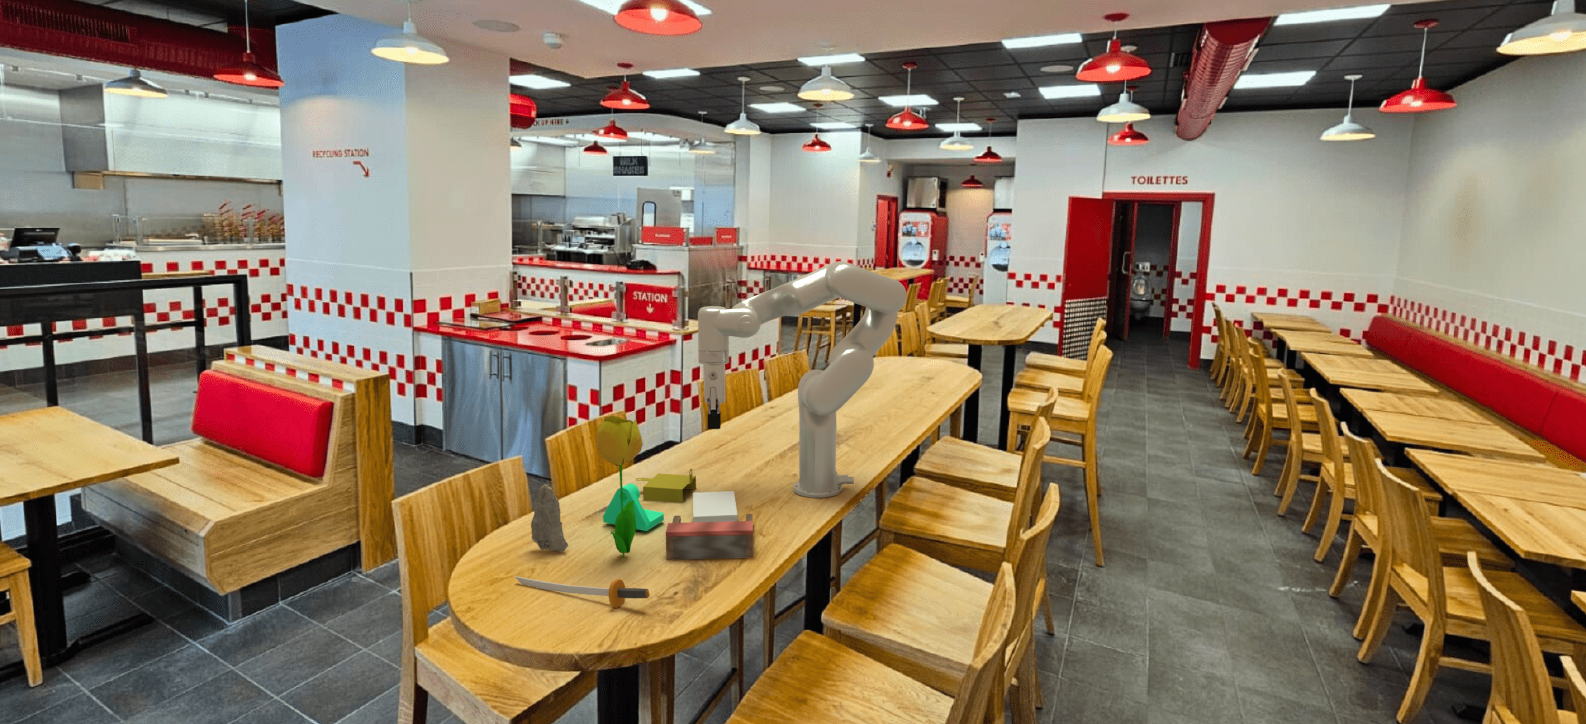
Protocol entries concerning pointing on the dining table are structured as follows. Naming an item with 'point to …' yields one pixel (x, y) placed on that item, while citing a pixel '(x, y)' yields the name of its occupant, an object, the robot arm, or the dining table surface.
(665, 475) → the bracket
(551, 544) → the stone tool
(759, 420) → the dining table surface
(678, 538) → the bridge
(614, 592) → the katana
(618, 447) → the flower
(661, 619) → the dining table surface
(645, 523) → the camera mount
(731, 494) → the panel
